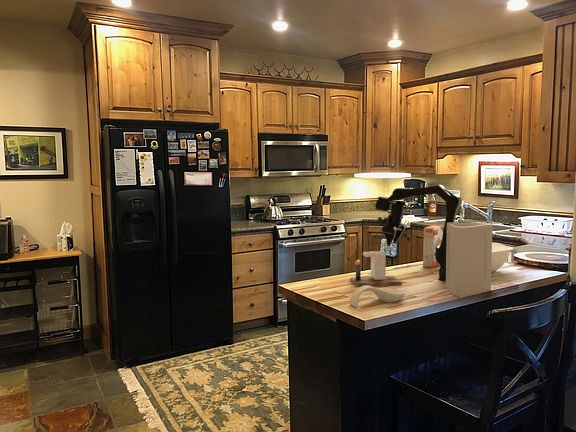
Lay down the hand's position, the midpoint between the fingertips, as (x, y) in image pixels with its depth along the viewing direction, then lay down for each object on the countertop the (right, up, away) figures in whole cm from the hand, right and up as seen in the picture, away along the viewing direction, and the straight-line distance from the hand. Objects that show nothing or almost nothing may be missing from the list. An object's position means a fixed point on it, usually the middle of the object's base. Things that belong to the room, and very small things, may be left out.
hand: (391, 244), depth 228 cm
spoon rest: (-16, -20, -47) cm, 53 cm away
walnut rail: (-11, -16, -16) cm, 25 cm away
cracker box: (+27, -12, +20) cm, 36 cm away
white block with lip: (-12, -14, -16) cm, 24 cm away
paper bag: (+23, -17, -31) cm, 42 cm away
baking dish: (+43, -14, +6) cm, 46 cm away
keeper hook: (-19, -15, -17) cm, 29 cm away
